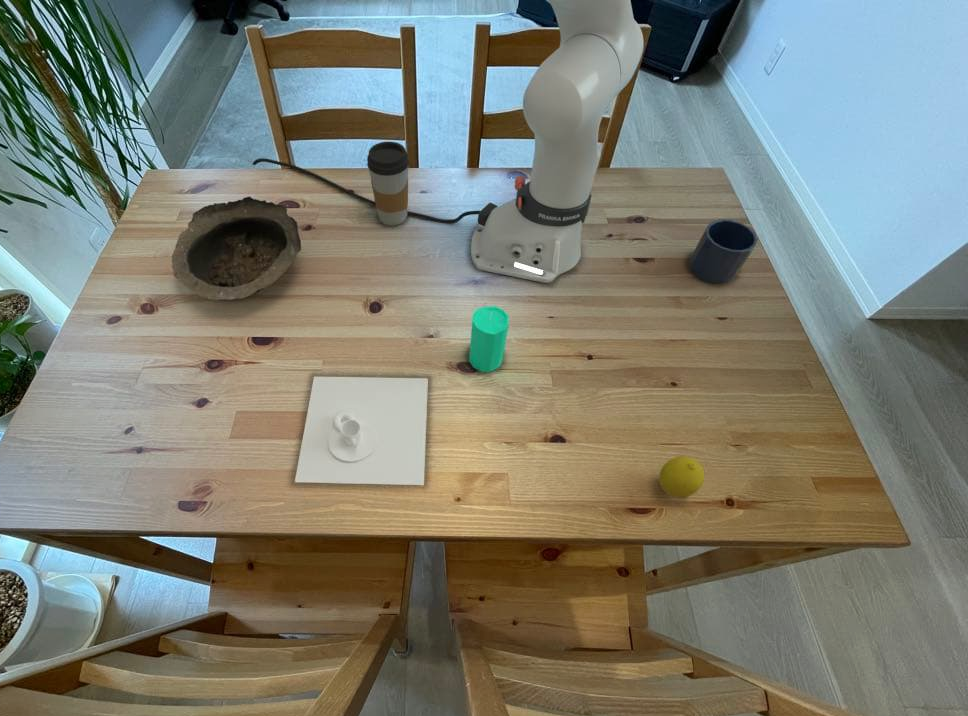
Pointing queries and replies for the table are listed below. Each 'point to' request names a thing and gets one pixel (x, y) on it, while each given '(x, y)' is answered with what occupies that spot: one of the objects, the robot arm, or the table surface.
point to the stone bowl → (235, 248)
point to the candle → (488, 338)
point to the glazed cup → (722, 251)
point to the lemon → (681, 477)
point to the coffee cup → (389, 181)
